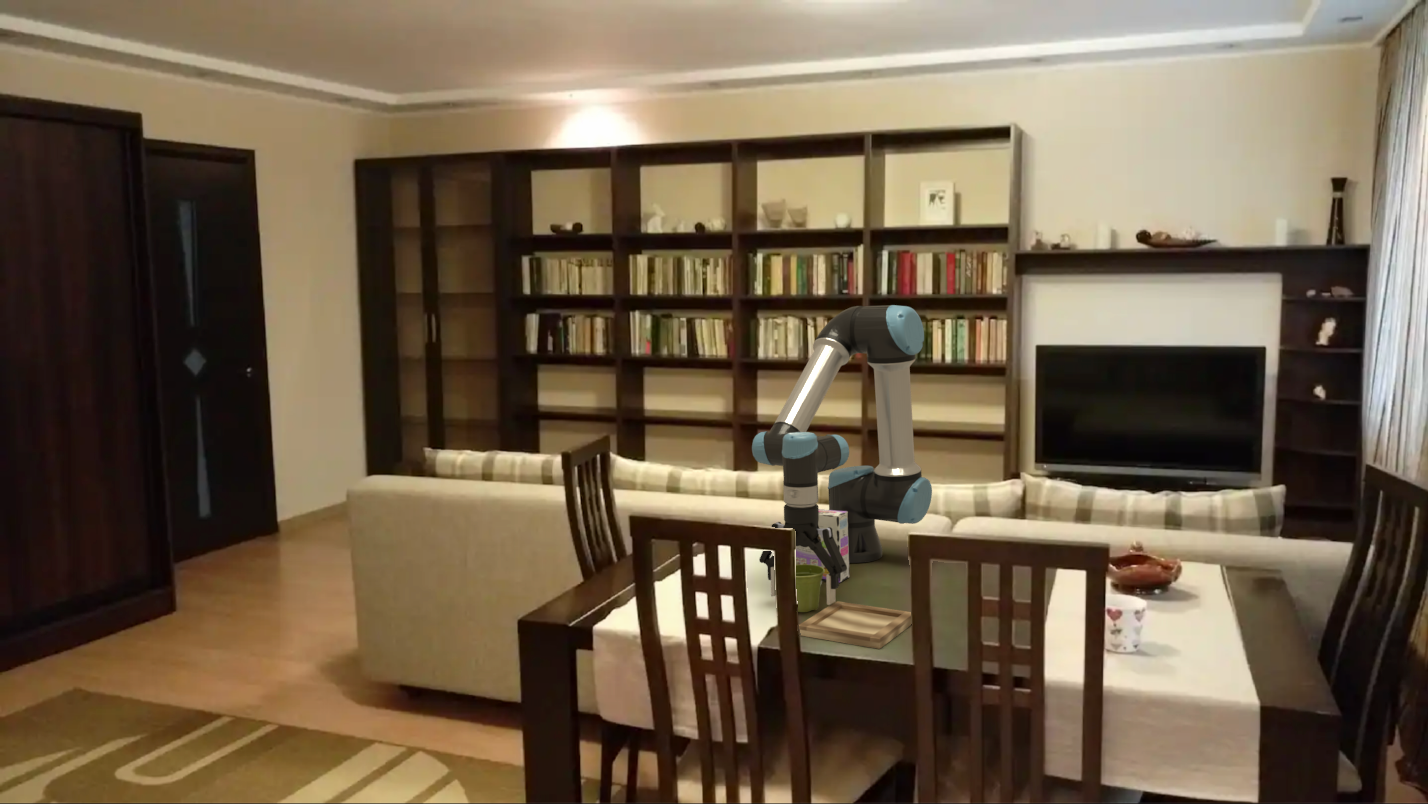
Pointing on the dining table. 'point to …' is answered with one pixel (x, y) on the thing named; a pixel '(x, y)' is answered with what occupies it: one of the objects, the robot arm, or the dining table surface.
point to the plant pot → (808, 586)
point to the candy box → (840, 535)
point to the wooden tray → (856, 624)
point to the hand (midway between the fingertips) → (803, 599)
